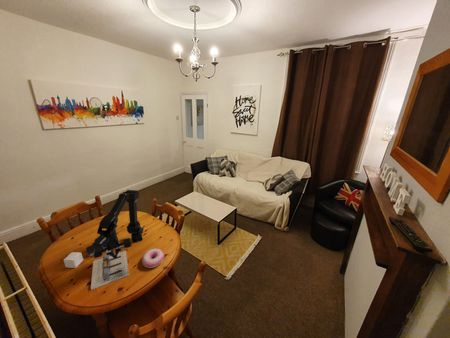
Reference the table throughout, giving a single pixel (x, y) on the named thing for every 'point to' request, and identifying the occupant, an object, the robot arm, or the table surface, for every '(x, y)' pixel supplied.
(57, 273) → the table surface
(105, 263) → the breaker
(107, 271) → the breaker
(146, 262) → the donut
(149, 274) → the table surface
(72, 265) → the white cube
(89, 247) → the black sponge
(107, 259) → the block
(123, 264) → the panel
